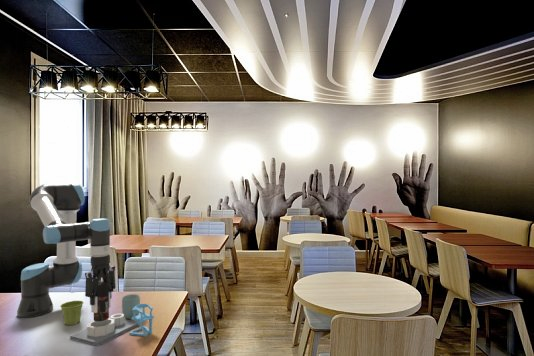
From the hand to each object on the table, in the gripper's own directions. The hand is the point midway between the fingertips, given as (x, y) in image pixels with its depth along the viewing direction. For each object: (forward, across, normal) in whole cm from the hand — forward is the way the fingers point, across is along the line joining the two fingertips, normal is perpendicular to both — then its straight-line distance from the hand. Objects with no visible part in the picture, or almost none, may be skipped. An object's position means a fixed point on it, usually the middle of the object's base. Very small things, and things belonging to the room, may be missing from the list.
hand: (101, 309), depth 151 cm
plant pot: (+10, +4, +23) cm, 26 cm away
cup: (+11, +19, +2) cm, 22 cm away
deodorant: (+4, 0, 0) cm, 4 cm away
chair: (+11, +8, -16) cm, 21 cm away
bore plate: (+10, +3, 0) cm, 11 cm away
